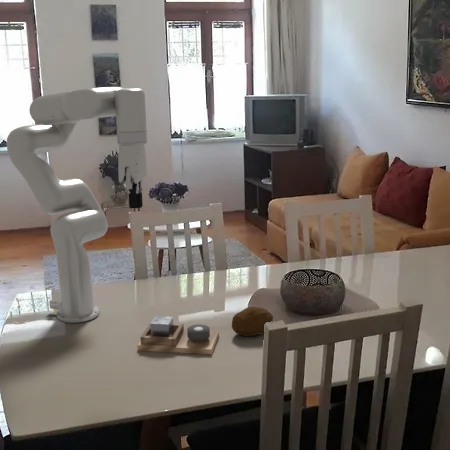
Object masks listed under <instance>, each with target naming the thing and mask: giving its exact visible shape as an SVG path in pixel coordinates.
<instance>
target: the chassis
mask: <svg viewBox="0 0 450 450" xmlns="http://www.w3.org/2000/svg"><path fill="white" fill-rule="evenodd" d="M151 322H152V321H150V322H149V324H148V325H147V327H146V328H145V330H144V331H143V333H142V334H141V335H140V340H139V342H138V343H137V344H136V347H137V351H143V352H156V353H157V352H158V353H159V352H161V353H174V352H175V353H176V354H190V353H197V354H196V355H207V354H210V355H213V352H214V349H215V348H216V345H217V342H218V340H219V335H220V334H219V332H220V331H213V330H210V337H209V338H208V339H206V340H202V341H194V340H190V339H189V338H188V336H187V329H184V323H173V330H174V334H173V336H172V337H158V336H151V327H150V323H151ZM177 352H178V353H177ZM179 352H180V353H179Z"/></svg>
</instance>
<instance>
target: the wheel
mask: <svg viewBox="0 0 450 450" xmlns="http://www.w3.org/2000/svg"><path fill="white" fill-rule="evenodd" d="M186 330H187V336H188V338H189V339H190V340H194V341H202V340H206V339H208V338H209V337H210V331H211V329H210V327H209V325H206V324H199V323H197V324H192V325H190V326H189V327H187V329H186Z"/></svg>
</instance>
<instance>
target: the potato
mask: <svg viewBox="0 0 450 450" xmlns="http://www.w3.org/2000/svg"><path fill="white" fill-rule="evenodd" d="M231 320H232V321H231V329H232V330H233V332H234V333H236V334H238V335H239V336H242V337H243V336H244V337H247V336H248V337H252V336H256V335H262V334H264V333H265V332H264V324H265V323H266V322H271V321H272V322H273V321H274V315H273V314H272V313H271V312H270V311H269V310H267V309H265V308H263V307H261V306H248V307H246V308H244V309H243V310H241V311H239V312H236V313H235V314H234V316H233V317H232V319H231Z"/></svg>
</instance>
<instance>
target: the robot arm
mask: <svg viewBox="0 0 450 450" xmlns="http://www.w3.org/2000/svg"><path fill="white" fill-rule="evenodd" d="M146 111H147V110H146V95H145V92H144V90H143V89H142V88H139V87H138V88H137V87H136V88H135V87H133V88H130V87H128V88H127V87H125V88H124V87H120V86H103V87H92V88H83V89H78V90H77V89H76V90H69V91H64V92H56V93H51V94H44V95H41V96H38V97H36V98H35V99H34V100H32V102H31V104H30V105H29V115H30V116H31V119H32V120H33V121H34V122H35V123H36V124H32V125H31V124H30V125H24V126H20V127H16V128H14V129H13V130H11V131H10V132H9V134H8V135H7V137H6V150H7V154H8V157H9V159H10V162H11V163H12V165H13V166H14V167H15V168H16V170H17V171H18V172H19V173H20V174H21V176H22V177H23V179H25V182H26V183H27V185H28V187H29V189H30V191H31V192H32V194H33V196H34V197H35V199H36V202H37V203H38V204H39V207H40V208H41V209H42V210H43V212H44V213H45V214H47V215H50V216H54V215H56V216H57V215H60V214H62V215H60V216H58V217H56V218H55V219H54V220H53V221H52V222H51V225H50V230H49V231H50V236H51V239H52V242H53V245H54V249H55V254H56V256H55V257H56V265H57V272H58V274H57V275H58V284H59V285H58V286H59V295H60V299H59V300H57V299H51V300H49V309H52V310H55V309H56V310H58V311H57V312H56V317H57V319H58V320H59V321H61V322H63V323H69V324H75V323H76V324H77V323H83V322H89V321H91V320H93V319H95V318H96V317H98V316H99V315H100V307H98V306H97V305H96V304H95V303H94V292H93V291H94V290H93V281H92V280H93V279H92V278H93V277H92V267H91V266H92V265H91V258H90V255H89V252H87V250H86V249H85V247H84V244H85V243H87V242H90V241H93V240H96V239H100V238H102V237H103V236H104V235H105V234H106V233H107V231H108V229H109V226H108V225H109V223H108V219H107V217H106V215H105V213H104V211H103V209H102V207H101V205H100V204H99V202H98V200H97V199H96V196H95V195H94V193H93V191H92V190H91V188H90V187H89V186H88V184H87V183H86V182H84V181H83V180H82V179H79V178H75V177H74V178H68V179H67V178H66V179H61V178H59V177H58V176H57V174H56V172H55V170H54V168H53V167H52V166H51V165H50V164H49V163H48V162H46V160H44V159H43V158H41V157H39V156H38V154H45V153H50V152H56V151H60V150H62V149H63V148H64V147H65V146H66V145H67V143H68V141H69V139H70V137H71V135H72V134H73V131H74V129H75V128H76V126H77V124H78V123H79V122H80V121H83V120H92V119H100V118H109V117H115V120H116V121H115V122H116V123H115V124H116V138H117V145H118V153H117V155H118V158H117V159H118V163H117V164H118V167H117V168H118V182H119V183H120V184H123V183H125V188H126V190H127V194H128V207H129V209H142V207H143V205H144V204H143V181H144V179H146V177H147V172H148V169H147V166H148V165H147V156H146V154H147V153H146V147H145V145H146V144H148V136H147V134H148V133H147V114H146V113H147V112H146ZM71 211H73V212H71ZM67 212H69V213H67ZM64 213H65V214H64Z"/></svg>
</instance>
